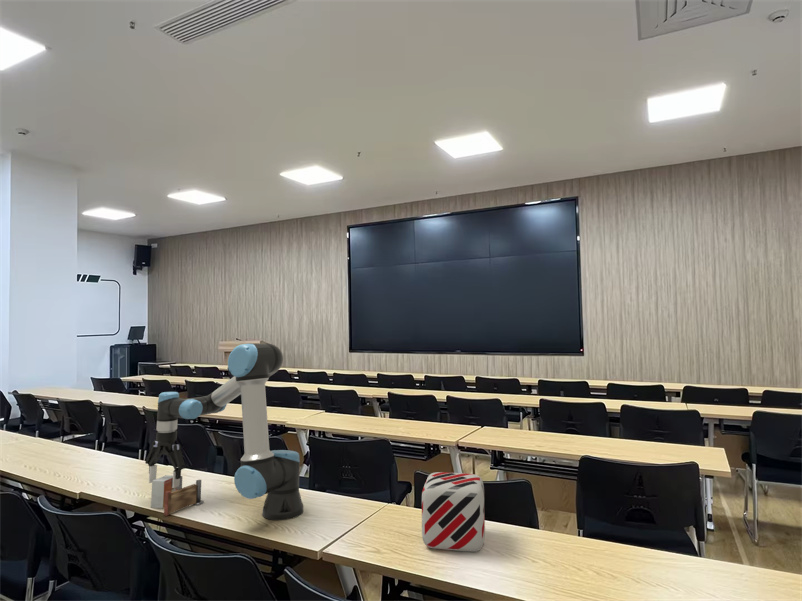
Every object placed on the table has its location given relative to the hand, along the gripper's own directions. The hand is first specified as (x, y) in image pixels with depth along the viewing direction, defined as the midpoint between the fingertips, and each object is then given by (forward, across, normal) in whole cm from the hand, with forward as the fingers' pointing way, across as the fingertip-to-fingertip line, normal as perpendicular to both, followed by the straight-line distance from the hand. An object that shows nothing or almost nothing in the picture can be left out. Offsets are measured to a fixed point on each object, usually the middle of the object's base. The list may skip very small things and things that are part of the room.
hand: (163, 484), depth 184 cm
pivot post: (+8, -12, -7) cm, 15 cm away
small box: (+8, 0, 0) cm, 8 cm away
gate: (+7, -12, +1) cm, 14 cm away
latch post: (+8, +2, -9) cm, 12 cm away
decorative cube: (+6, -116, -17) cm, 118 cm away
